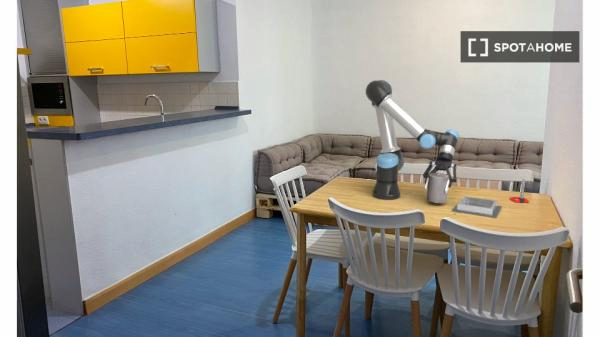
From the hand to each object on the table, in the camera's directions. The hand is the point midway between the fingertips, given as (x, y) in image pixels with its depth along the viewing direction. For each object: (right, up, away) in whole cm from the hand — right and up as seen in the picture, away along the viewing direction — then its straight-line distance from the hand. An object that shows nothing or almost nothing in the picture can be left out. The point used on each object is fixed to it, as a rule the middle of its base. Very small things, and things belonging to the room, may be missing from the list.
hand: (435, 190), depth 209 cm
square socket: (+19, -9, -5) cm, 22 cm away
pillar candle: (+2, -5, +4) cm, 7 cm away
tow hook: (+47, -6, +8) cm, 48 cm away
